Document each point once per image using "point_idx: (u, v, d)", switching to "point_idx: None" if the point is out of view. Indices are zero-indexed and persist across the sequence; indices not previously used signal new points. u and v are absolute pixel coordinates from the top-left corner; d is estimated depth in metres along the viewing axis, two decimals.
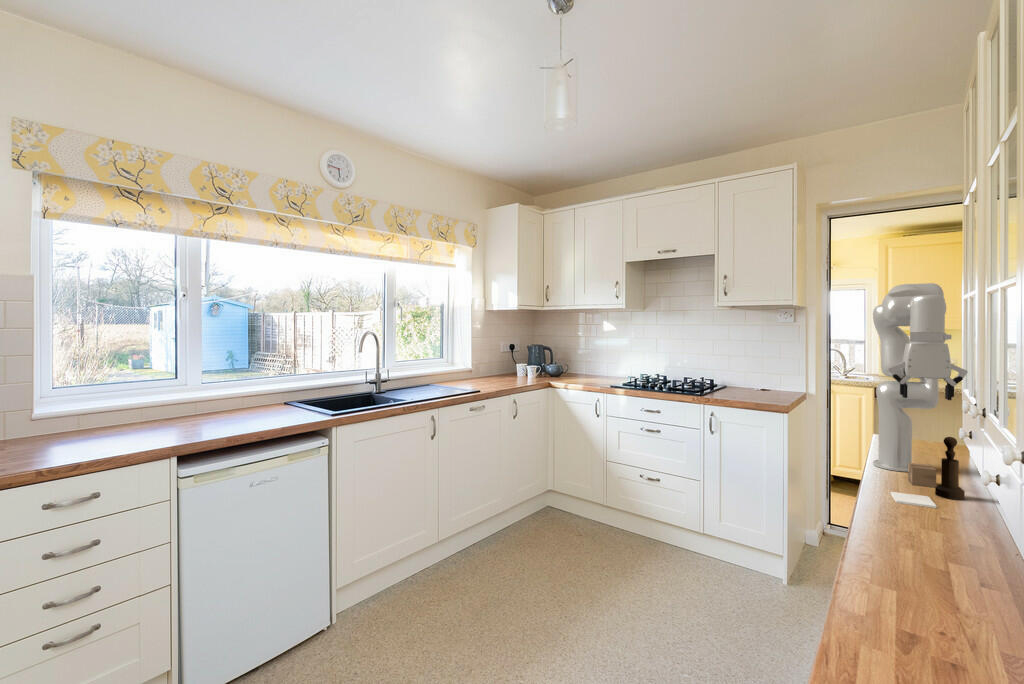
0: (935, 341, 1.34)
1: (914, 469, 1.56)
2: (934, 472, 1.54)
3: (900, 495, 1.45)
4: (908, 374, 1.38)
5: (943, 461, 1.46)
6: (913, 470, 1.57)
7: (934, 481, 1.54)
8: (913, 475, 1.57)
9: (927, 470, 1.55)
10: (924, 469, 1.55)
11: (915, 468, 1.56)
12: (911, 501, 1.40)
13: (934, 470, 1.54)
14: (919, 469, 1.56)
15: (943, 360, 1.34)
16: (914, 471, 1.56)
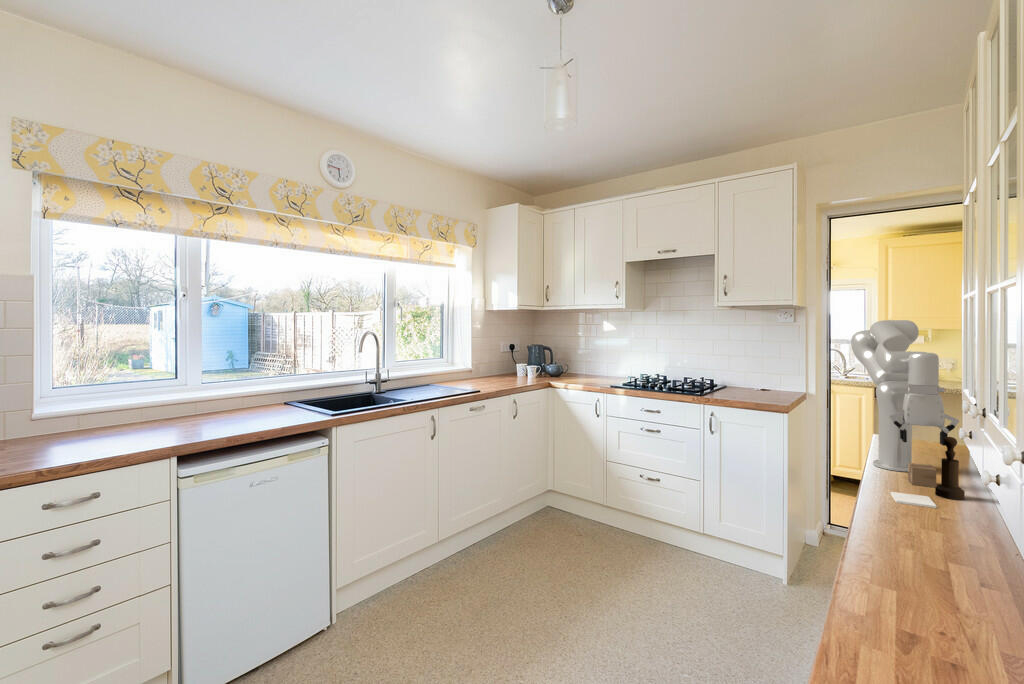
0: (930, 394, 1.53)
1: (914, 469, 1.56)
2: (934, 472, 1.54)
3: (900, 495, 1.45)
4: (907, 421, 1.58)
5: (943, 461, 1.46)
6: (913, 470, 1.57)
7: (934, 481, 1.54)
8: (913, 475, 1.57)
9: (927, 470, 1.55)
10: (924, 469, 1.55)
11: (915, 468, 1.56)
12: (911, 501, 1.40)
13: (934, 470, 1.54)
14: (919, 469, 1.56)
15: (937, 410, 1.54)
16: (914, 471, 1.56)
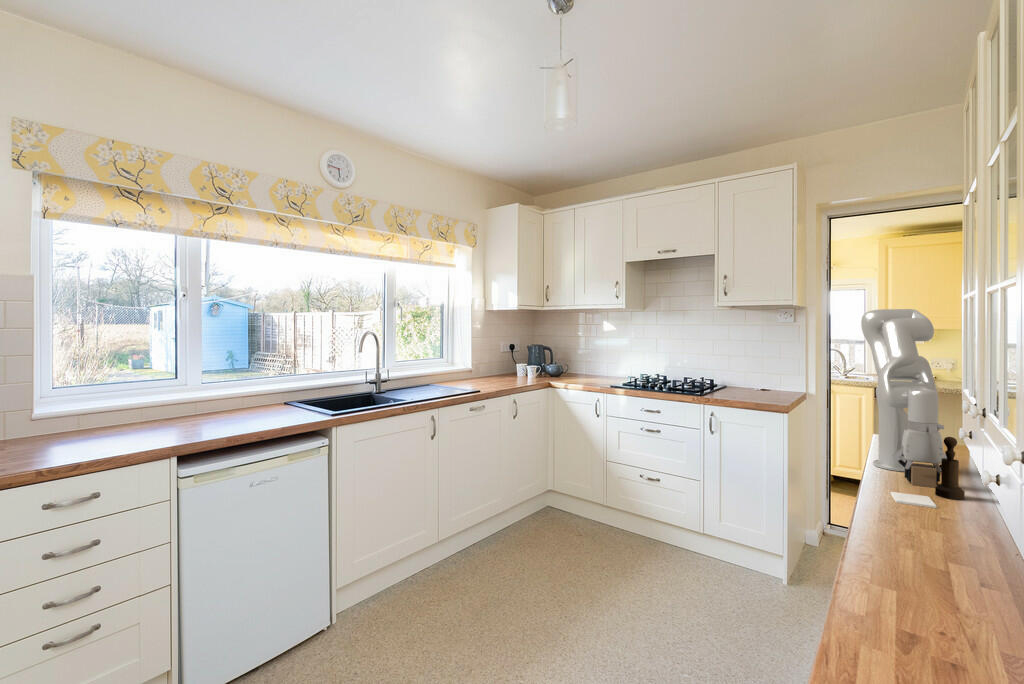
0: (929, 431, 1.54)
1: (914, 469, 1.56)
2: (934, 472, 1.54)
3: (900, 495, 1.45)
4: (906, 458, 1.58)
5: (943, 461, 1.46)
6: (913, 470, 1.56)
7: (934, 481, 1.54)
8: (913, 475, 1.56)
9: (927, 470, 1.55)
10: (924, 469, 1.55)
11: (915, 468, 1.56)
12: (911, 501, 1.40)
13: (934, 470, 1.54)
14: (919, 469, 1.56)
15: (936, 448, 1.54)
16: (914, 471, 1.56)
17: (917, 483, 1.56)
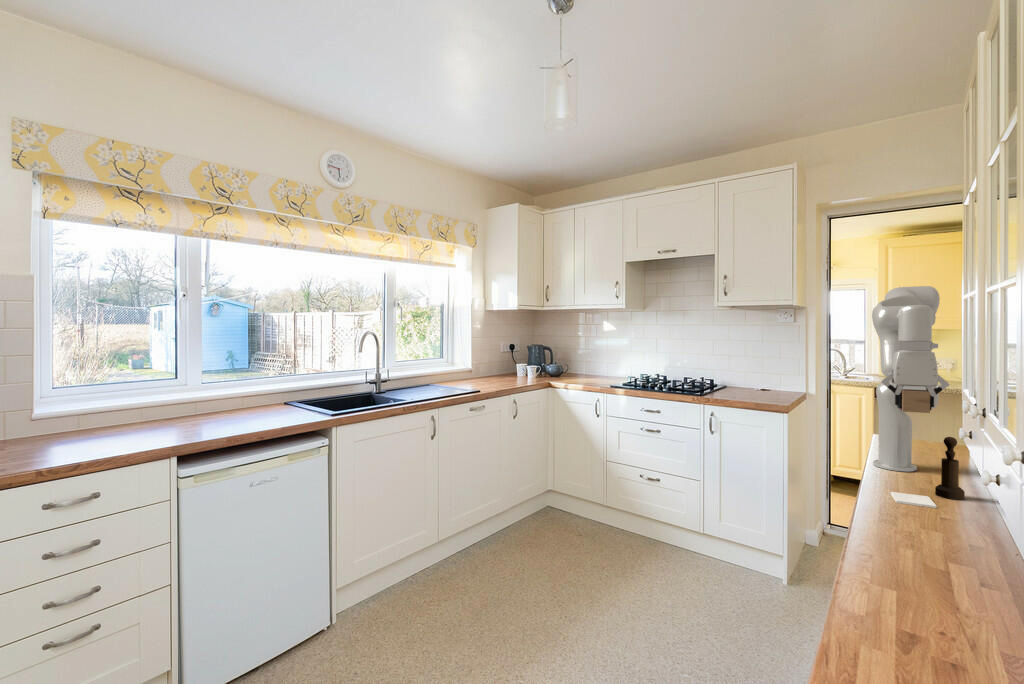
0: (922, 350, 1.38)
1: (905, 393, 1.40)
2: (927, 395, 1.38)
3: (900, 495, 1.45)
4: (896, 382, 1.42)
5: (943, 461, 1.46)
6: (904, 394, 1.40)
7: (927, 405, 1.38)
8: (904, 400, 1.40)
9: (920, 393, 1.39)
10: (916, 392, 1.39)
11: (906, 392, 1.40)
12: (911, 501, 1.40)
13: (927, 393, 1.38)
14: (911, 393, 1.40)
15: (930, 368, 1.38)
16: (905, 395, 1.40)
17: (909, 409, 1.40)
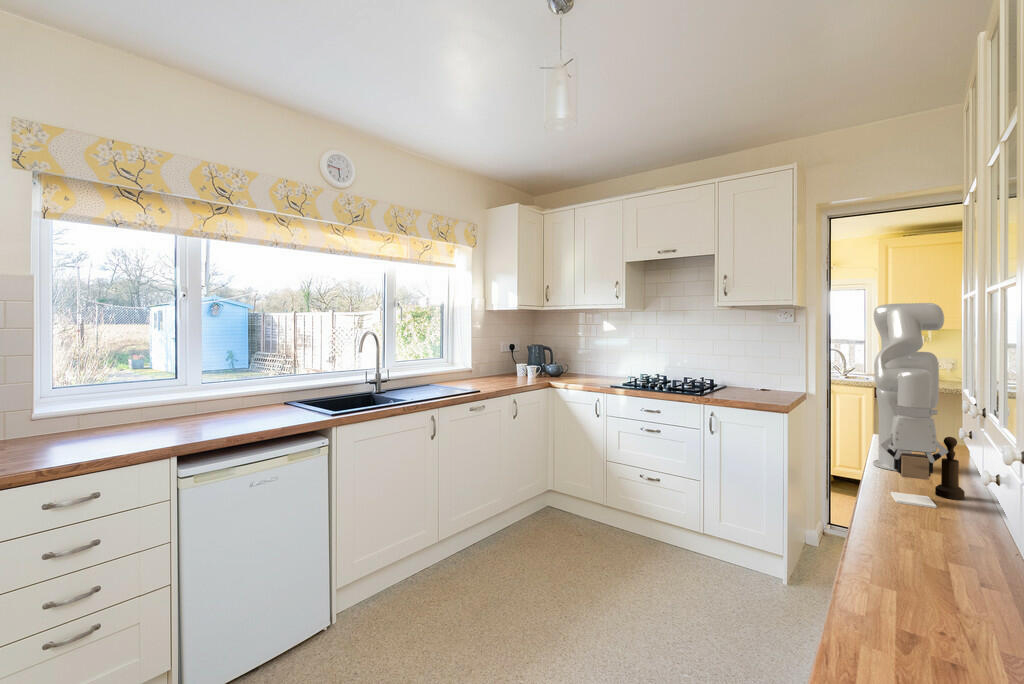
0: (921, 417, 1.38)
1: (904, 459, 1.41)
2: (926, 462, 1.38)
3: (900, 495, 1.45)
4: (896, 447, 1.43)
5: (943, 461, 1.46)
6: (903, 460, 1.41)
7: (927, 472, 1.38)
8: (903, 465, 1.41)
9: (919, 460, 1.39)
10: (916, 459, 1.40)
11: (906, 457, 1.41)
12: (911, 501, 1.40)
13: (927, 460, 1.38)
14: (910, 459, 1.40)
15: (929, 435, 1.39)
16: (904, 461, 1.41)
17: (908, 474, 1.40)
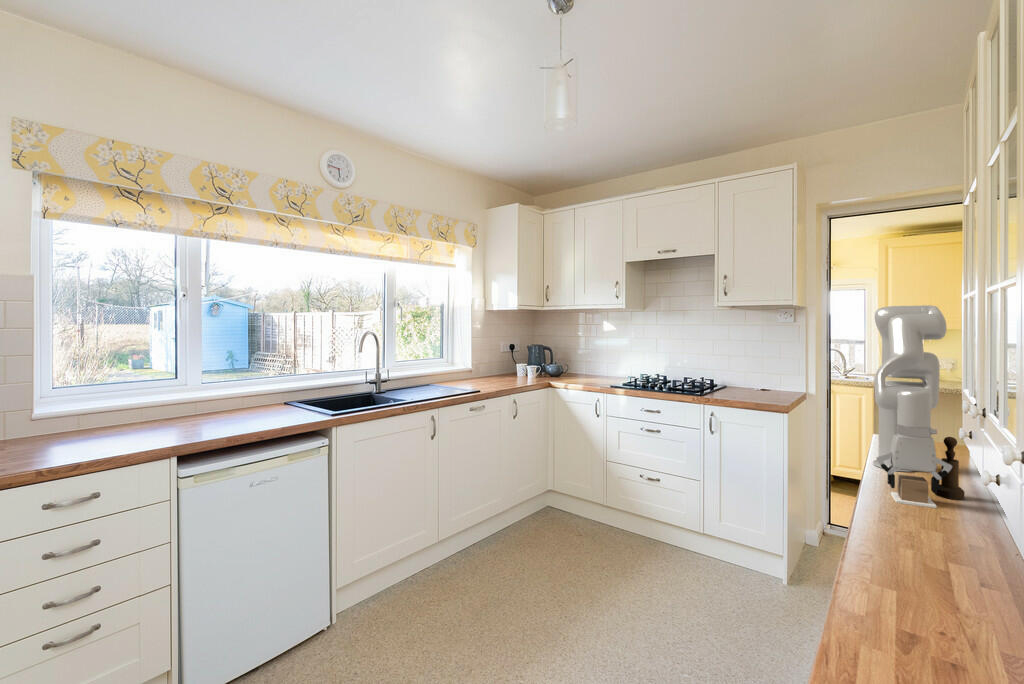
0: (921, 436, 1.39)
1: (904, 482, 1.41)
2: (925, 486, 1.39)
3: None
4: (895, 465, 1.43)
5: None
6: (903, 483, 1.41)
7: (926, 495, 1.39)
8: (903, 488, 1.41)
9: (918, 483, 1.40)
10: (915, 482, 1.40)
11: (905, 481, 1.41)
12: (911, 501, 1.40)
13: (926, 483, 1.39)
14: (909, 482, 1.41)
15: (929, 455, 1.39)
16: (904, 484, 1.41)
17: (907, 498, 1.41)
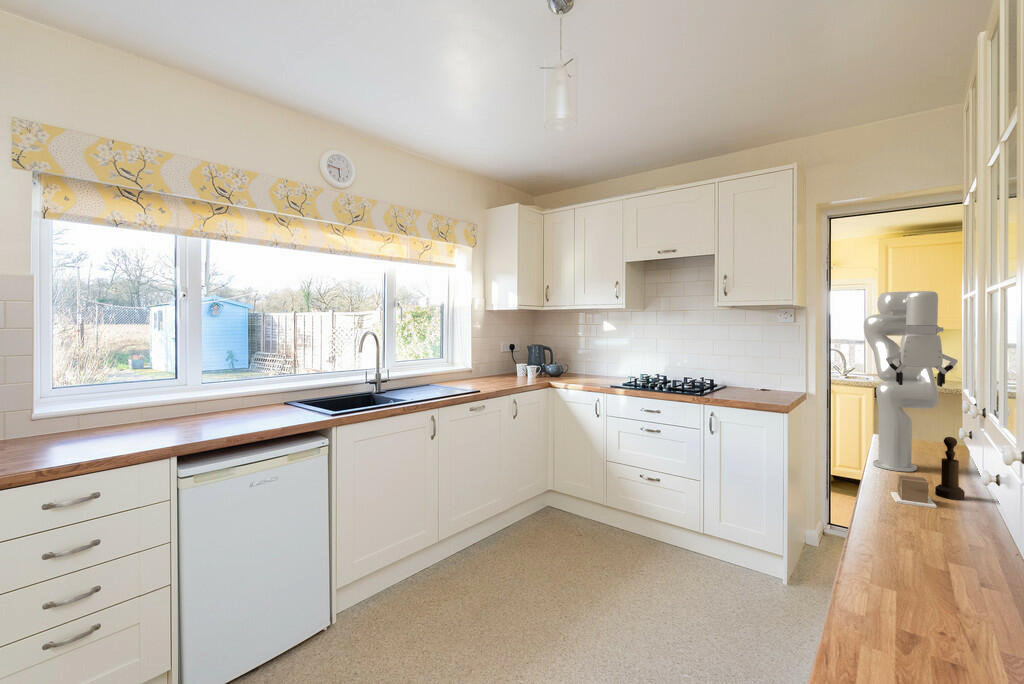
0: (928, 334, 1.47)
1: (904, 482, 1.41)
2: (925, 486, 1.39)
3: None
4: (903, 363, 1.52)
5: (943, 461, 1.46)
6: (903, 483, 1.41)
7: (926, 495, 1.39)
8: (903, 488, 1.41)
9: (918, 483, 1.40)
10: (915, 482, 1.40)
11: (905, 481, 1.41)
12: (911, 501, 1.40)
13: (926, 483, 1.39)
14: (909, 482, 1.41)
15: (935, 351, 1.48)
16: (904, 484, 1.41)
17: (907, 498, 1.41)
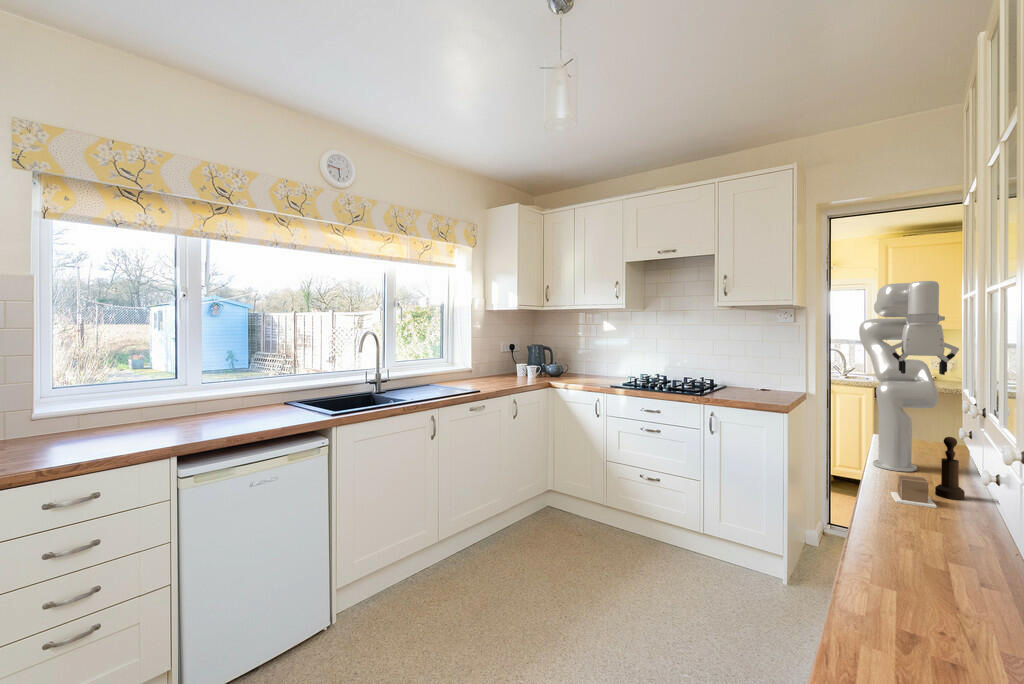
0: (930, 322, 1.50)
1: (904, 482, 1.41)
2: (925, 486, 1.39)
3: None
4: (906, 352, 1.54)
5: (943, 461, 1.46)
6: (903, 483, 1.41)
7: (926, 495, 1.39)
8: (903, 488, 1.41)
9: (918, 483, 1.40)
10: (915, 482, 1.40)
11: (905, 481, 1.41)
12: (911, 501, 1.40)
13: (926, 483, 1.39)
14: (909, 482, 1.41)
15: (937, 339, 1.50)
16: (904, 484, 1.41)
17: (907, 498, 1.41)
